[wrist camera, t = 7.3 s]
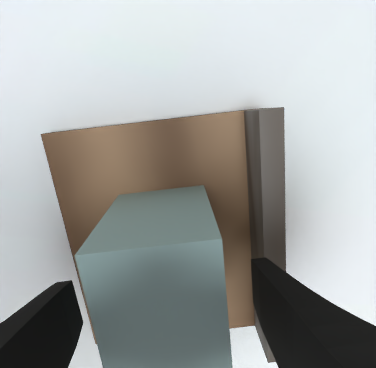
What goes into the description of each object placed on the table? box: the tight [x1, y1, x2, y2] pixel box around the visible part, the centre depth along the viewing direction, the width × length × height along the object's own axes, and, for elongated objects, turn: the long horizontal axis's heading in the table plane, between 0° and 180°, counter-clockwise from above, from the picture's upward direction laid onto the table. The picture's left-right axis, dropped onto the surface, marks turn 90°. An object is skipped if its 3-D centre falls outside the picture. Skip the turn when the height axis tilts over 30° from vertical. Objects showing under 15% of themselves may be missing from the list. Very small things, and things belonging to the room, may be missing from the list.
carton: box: [75, 185, 232, 368], centre depth 12 cm, size 5×6×6 cm
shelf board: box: [41, 107, 286, 363], centre depth 14 cm, size 11×13×3 cm
